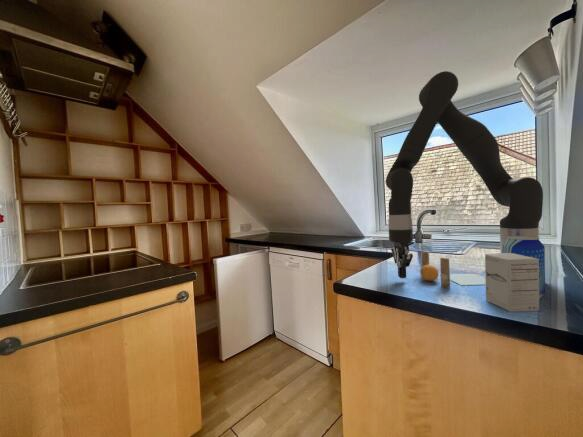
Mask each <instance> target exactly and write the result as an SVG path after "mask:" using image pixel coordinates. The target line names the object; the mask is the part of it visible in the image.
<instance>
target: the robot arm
mask: <svg viewBox="0 0 583 437" xmlns="http://www.w3.org/2000/svg"><path fill="white" fill-rule="evenodd" d="M458 88H459V79H458V77H457V76H456V74H454V73H453V72H452V71H446V70H445V71H441V72H437V73H436V74H435V75H433V76H432V77H431V78H430V79H429V80H428V81H427V82H426V83H425V85H424V86H423V87H422V88H421V89H420V91H419V94H418V101H419V104H420V105H421V107H422V109H420V110H421V111H420V112H419V113H418V117H417V118H416V120H415V121H414V123H413V125H412V127H411V128H410V130H409V131H408V132H407V135H406V137H405V138H404V140H403V143H402V144H401V147H400V149H399V152H398V154H397V157H396V159H395V160H394V161H393V164H392V166H391V167H390V169H389V171H388V173H387V175H386V178H385V185H386V187H387V189H388V190H390V199H389V200H388V240H389V242H391V243H393V247H391V249H390V250H391V254H392V257H393V262H394V264H396V266H397V275H398V277H399V278H400V279H406V278H407V268H408V267H410V265H411V262H412V260H413V257H414V255H413V253H410V247H409V243H412V242H413V241H414V235H413V234H414V233H413V232H414V229H413V228H414V227H413V216H412V202H411V200H412V195H413V189H414V188H413V187H414V178H413V175H412V171H413V169H414V167H416V165H418V163H419V161H420V160H421V158H422V156H423V153H424V151H425V149H426V147H427V144H428V142H429V140H430V137H431V136H432V134H433V131H434V129H435V128H436V125H437V124H439V126H440V127H441V128H442V129H443V131H444V132H445V133H446V135H447V136H448V137H449V138H450V139H451V140H452V142H453V144H454V145H455V146H456V148H457V149H458V150H459V151H460V152H461V154H462V155H463V156H464V157H465V159H466V160H467V161H468V163H469V164H470V165H471V166H472V168H473V169H474V171H476V173H477V174H478V175H479V176H480V178H481V180H482V182H483V183H484V185H485V186H486V187H487V190H488V191H489V193H490V194H491V196H492V198H493V200H494V201H495V202H497V204H499V205H501V206H503V207H508V210H509V211H508V213H507V215H506V216H504V217H503V218H501V219H500V220H499V244H500V246H499V247H500V248H499V250H500V253H502V244H503V243H504V242H505V240H506V239H507V238H506V237H508V236H531V237H538V238H539V239H540V235H539V223H540V222H541V219H542V217H543V206H544V204H543V203H544V191H543V186H542V184H541V183H540V181H538V180H537V179H536V178H533V177H530V176H529V177H527V176H525V177H519V178H513V177H512V176H511V175H510V174H509V173H508V172H507V170H506V169H505V168H504V167H503V166H504V165H502V162H501V157H500V146H499V143H498V141H497V139H496V138H495V136H494V135H493V134H492V133H491V131H490V130H489V129H488V127H487V126H486V125H485V124H484V123H482V122H480V121H479V120H477V119H475V118H473V117H471V116H469V115H467V114H464V113H463V112H462V111H460V110H459V108H457V107H456V105H455V104H454V103H453V101H452V99H453V97H454V96H455V95H456V93H457V91H458Z"/></svg>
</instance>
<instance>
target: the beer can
mask: <svg viewBox="0 0 583 437" xmlns="http://www.w3.org/2000/svg"><path fill="white" fill-rule="evenodd" d="M506 238H507V239H506V240H505V242H504V243H503V244H502V253H514V254H518V255H523V256H528V257H532V258H537V259H539V299H541V298H542V297H543V296H544V295H546V262H545V260H546V257H545V256H546V254H545V253H546V252H545V251H546V250H545V249H546V248H545V245H544V244H543V243H542V242H541V241H540V237H539V238H538V237H531V236H508V237H506Z"/></svg>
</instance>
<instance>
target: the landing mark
mask: <svg viewBox="0 0 583 437" xmlns="http://www.w3.org/2000/svg"><path fill="white" fill-rule="evenodd" d="M439 276H440V277H441V274H440V275H439ZM450 282H453V283H456V284H458V285H459V286H461V287H463V286H486V277H484V276H481V275H479V274H476V273H459V274H458V273H456V274H455V273H454V274H453V273H452V274H450Z"/></svg>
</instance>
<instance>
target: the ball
mask: <svg viewBox="0 0 583 437" xmlns="http://www.w3.org/2000/svg"><path fill="white" fill-rule="evenodd" d="M419 273H420V276H421V278H422V279H424V280H425V281H427V282H433V281H436V280H437V279H438V278H439V276H440V275H439V270H438V268H437V267H436V266H434V265H432V264H429V265H425V266H423V267H422V266H421V268H420V270H419Z"/></svg>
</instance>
